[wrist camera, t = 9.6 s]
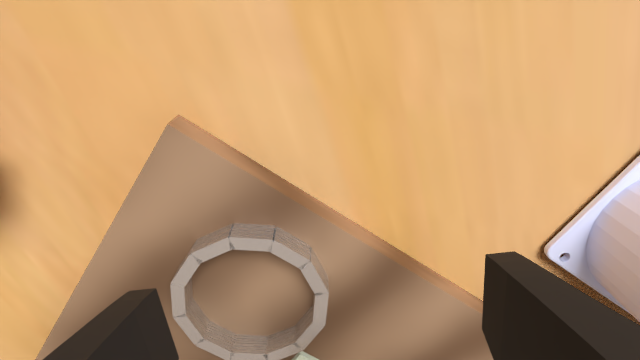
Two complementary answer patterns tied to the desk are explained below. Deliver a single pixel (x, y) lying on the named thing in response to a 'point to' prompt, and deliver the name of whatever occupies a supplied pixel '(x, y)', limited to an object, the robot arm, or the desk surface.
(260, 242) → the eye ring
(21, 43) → the desk surface
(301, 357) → the sage pad
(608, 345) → the robot arm
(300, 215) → the walnut board
